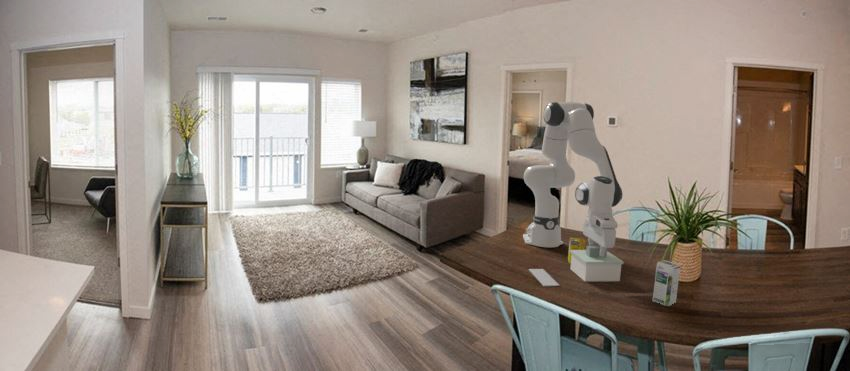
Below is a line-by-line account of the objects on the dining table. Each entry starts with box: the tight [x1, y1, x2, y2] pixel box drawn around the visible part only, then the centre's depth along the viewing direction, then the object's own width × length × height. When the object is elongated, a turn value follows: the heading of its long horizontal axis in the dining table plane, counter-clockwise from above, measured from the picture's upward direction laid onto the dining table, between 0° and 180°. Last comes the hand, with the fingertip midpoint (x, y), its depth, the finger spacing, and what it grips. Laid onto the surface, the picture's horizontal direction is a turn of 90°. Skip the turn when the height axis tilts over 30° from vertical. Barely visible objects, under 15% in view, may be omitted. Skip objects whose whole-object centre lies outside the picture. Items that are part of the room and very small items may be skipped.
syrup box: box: [651, 259, 682, 307], centre depth 167 cm, size 6×6×14 cm
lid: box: [570, 245, 625, 265], centre depth 190 cm, size 15×15×6 cm
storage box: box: [570, 254, 622, 283], centre depth 191 cm, size 14×14×8 cm
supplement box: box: [567, 237, 586, 265], centre depth 206 cm, size 6×6×11 cm
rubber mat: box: [528, 268, 562, 287], centre depth 190 cm, size 18×16×1 cm
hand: (596, 252), depth 189 cm, fingers open, 7 cm apart
